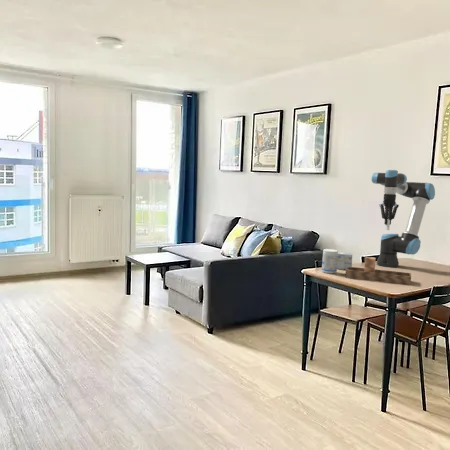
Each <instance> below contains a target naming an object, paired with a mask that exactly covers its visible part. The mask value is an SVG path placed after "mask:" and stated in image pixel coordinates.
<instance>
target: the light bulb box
mask: <svg viewBox="0 0 450 450" xmlns="http://www.w3.org/2000/svg"><path fill="white" fill-rule="evenodd" d="M348 267H353V253H351V252H338V259H337V270H344V269H345V270H344V271H346V269H347V268H348Z"/></svg>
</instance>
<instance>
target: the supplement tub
mask: <svg viewBox="0 0 450 450" xmlns="http://www.w3.org/2000/svg"><path fill="white" fill-rule="evenodd" d="M338 253H339V251H338V250H337V249H331V248H325V249H323V250H322V259H321V260H322V261H321V262H322V263H321V272H322V273H325V274H332V275H333V274H336V273H337V270H338V269H337V259H338Z"/></svg>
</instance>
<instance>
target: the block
mask: <svg viewBox="0 0 450 450" xmlns="http://www.w3.org/2000/svg"><path fill="white" fill-rule="evenodd" d="M376 261H377V260H376V257H372V256H365V257H364V267H363V268H364V271H365V272H374V273H375V269H376Z"/></svg>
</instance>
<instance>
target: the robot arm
mask: <svg viewBox="0 0 450 450" xmlns="http://www.w3.org/2000/svg"><path fill="white" fill-rule="evenodd" d="M407 180H408V179H407V175H406V174H405V173H402V172H400V173H399V171H398V170H396V169H387V170H385V172H374V173H372V175H371V182H372V183H373V184H376V185H381V186H384V190H383V201H382V202H381V203H380V204H379V208H380V212H381V218H382V219H384V225H385V226H384V230H387V231H390V226H391V224H392V220H394V219H395V217H396V215H397V214H396V213H397V210H398V208H399V206H400V204H397V202H396V198H397V195H396V194H398V195H400V196H403V197H405V198H410V199H412V202H413V204H412V207H411V210H410V214H409V216H408V219H407V224H406V227H405V229H404V230H405V231H404V232H402V233H401V235H399V234H398V233H383V234H382V235H381V238H380V247H379V248H380V249H379V250H380V251H379V256H378V258H377V260H376V265H377V266H379V267H386V268H397V267H399V264H400V263H399V259H398V253H400V254H405V255H411V256H412V255H413V256H414V255H416V254H418V252H419V250H420V249H421V242H422V241H421V239H420V236H419V235H418V233H419V231H420V228H421V223H422V221H423V217H424V214H425V210H426V208H427V205H428V204H429V203H430V201H431V200H434V199H435V197H436V189H435V186H434V184H433V183H431V182H418V181H417V182H413V181H407Z"/></svg>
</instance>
